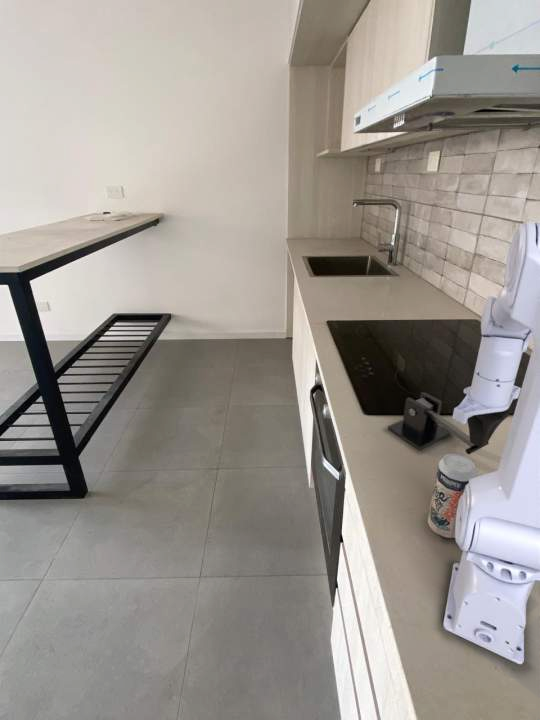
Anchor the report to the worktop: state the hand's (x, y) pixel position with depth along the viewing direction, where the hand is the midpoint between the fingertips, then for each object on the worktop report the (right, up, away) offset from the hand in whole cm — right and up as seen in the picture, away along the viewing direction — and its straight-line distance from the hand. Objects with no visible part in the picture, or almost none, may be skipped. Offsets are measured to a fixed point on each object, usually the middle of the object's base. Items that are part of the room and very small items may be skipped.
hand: (477, 443), depth 68 cm
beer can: (-10, -11, -9) cm, 17 cm away
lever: (-3, +1, +6) cm, 7 cm away
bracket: (-6, 0, +12) cm, 13 cm away
